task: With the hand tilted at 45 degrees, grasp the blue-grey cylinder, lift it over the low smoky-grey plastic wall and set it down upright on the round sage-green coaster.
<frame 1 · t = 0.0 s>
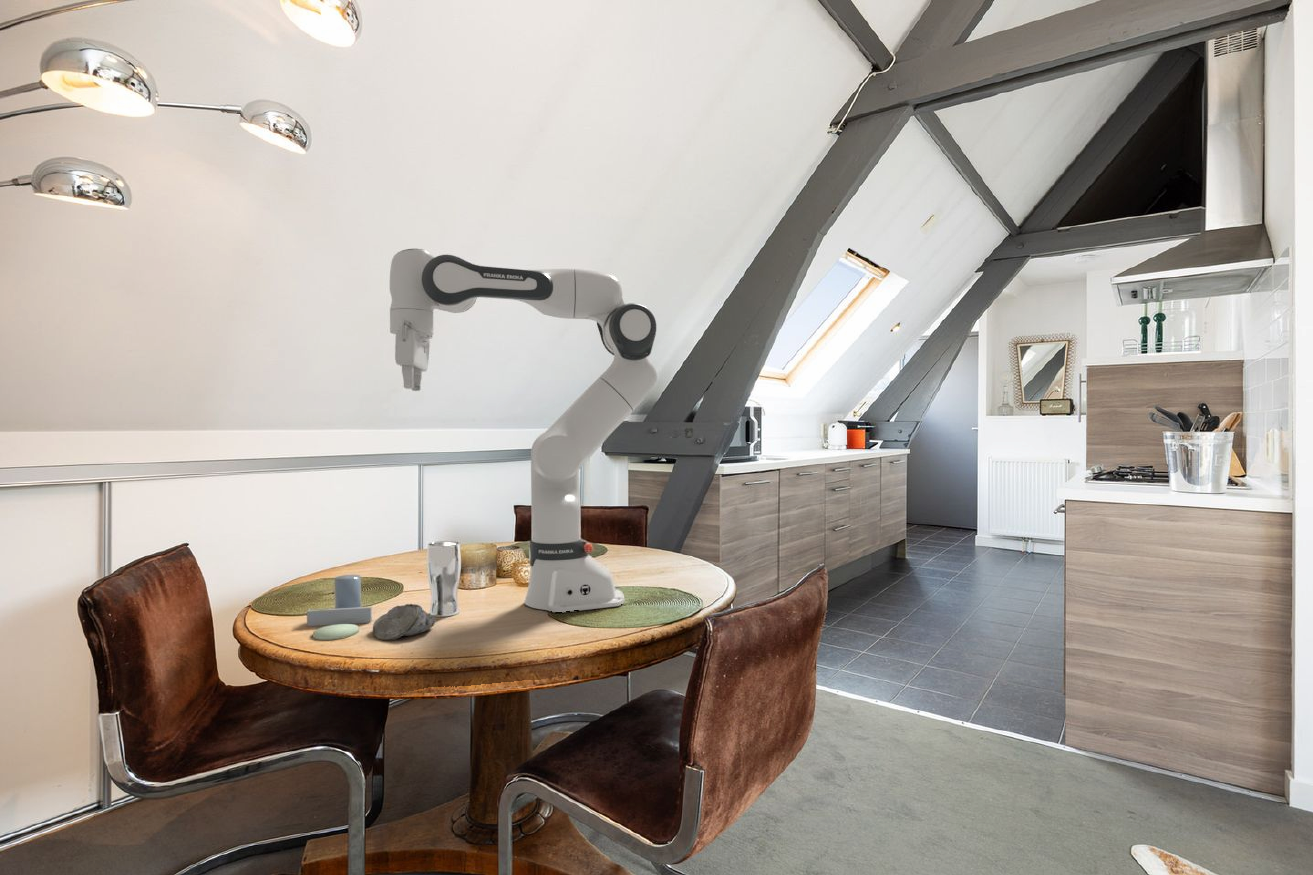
hand: (412, 389, 143), 48 cm above the table, tool pointing down, fingers open, 8 cm apart
beer glass: (444, 613, 142), on the table
coaster: (336, 633, 128), on the table
wall: (339, 623, 134), on the table
fossilized seashell: (404, 634, 129), on the table
blue-grey cylinder: (348, 614, 141), on the table
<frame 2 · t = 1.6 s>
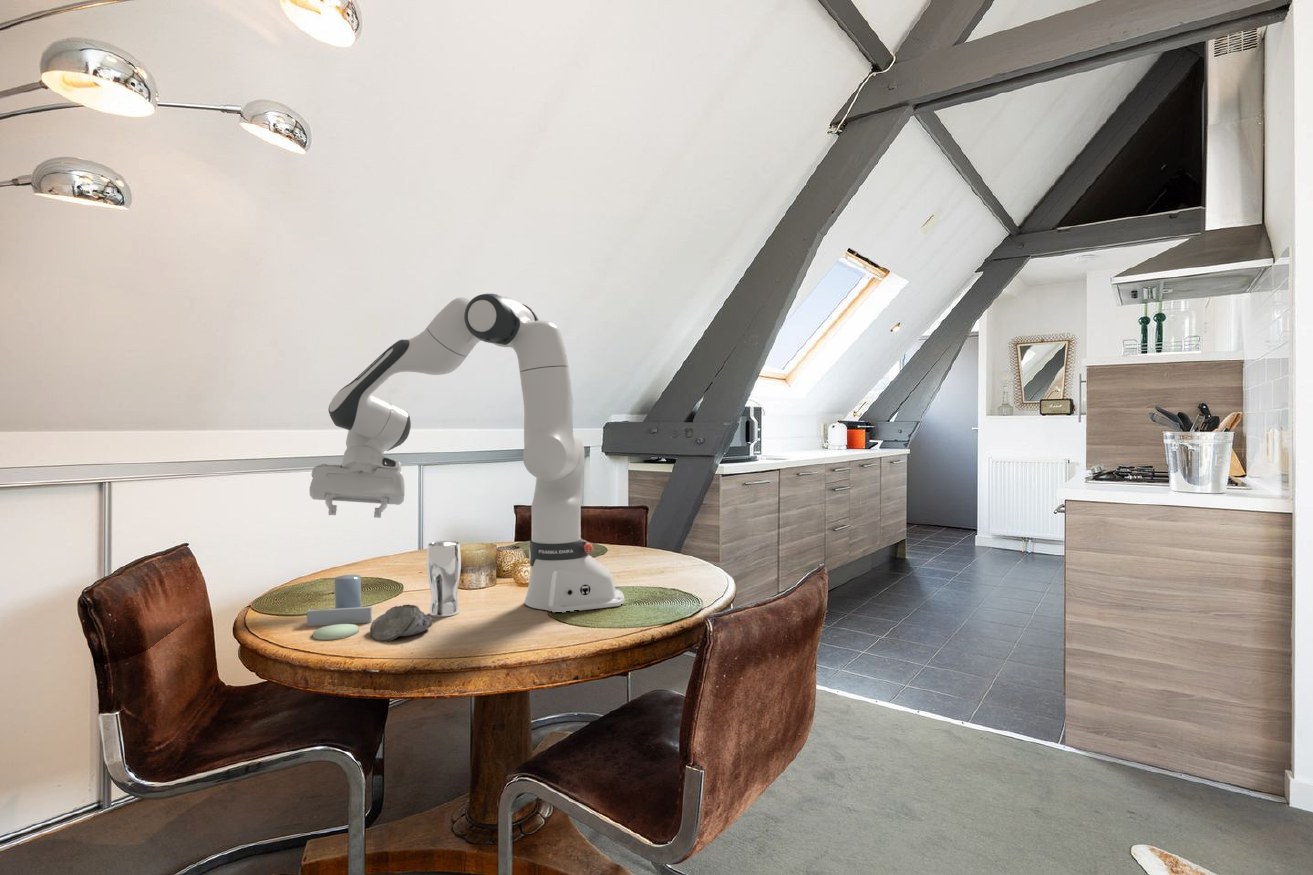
hand: (355, 515, 150), 20 cm above the table, tool tilted 40°, fingers open, 8 cm apart
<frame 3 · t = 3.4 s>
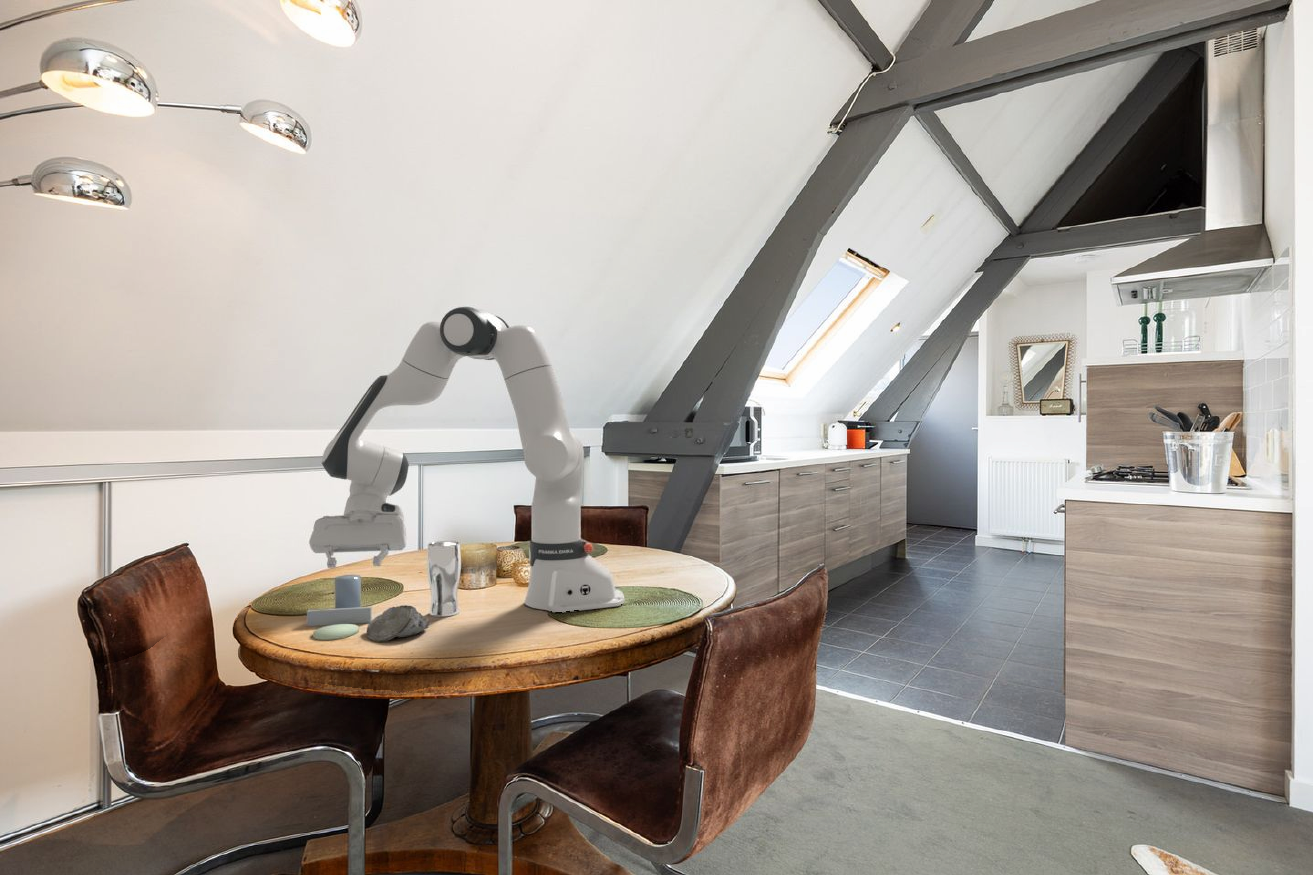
hand: (354, 565, 146), 9 cm above the table, tool tilted 45°, fingers open, 8 cm apart
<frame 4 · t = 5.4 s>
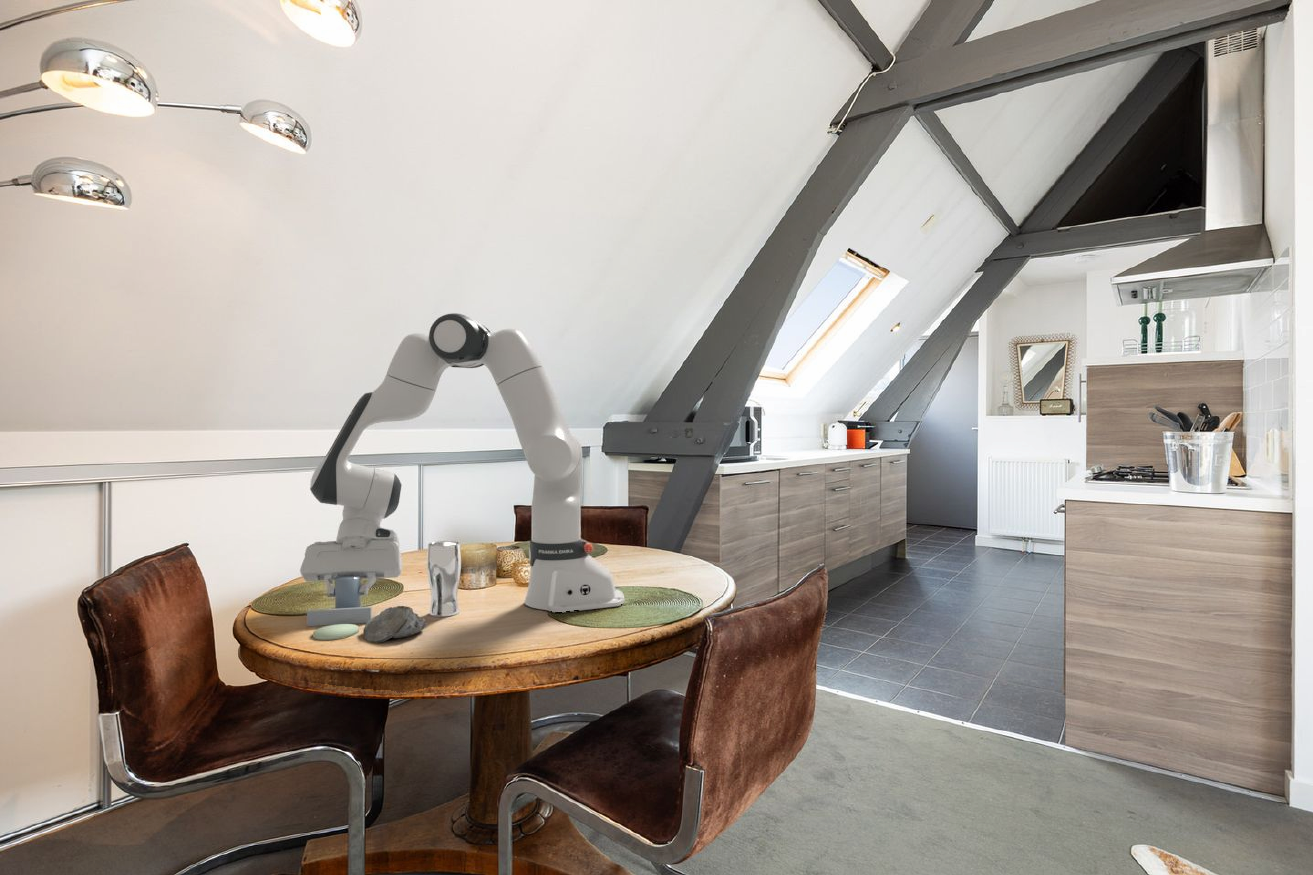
hand: (347, 594, 140), 4 cm above the table, tool tilted 45°, fingers closed on blue-grey cylinder, 5 cm apart
blue-grey cylinder: (348, 614, 141), on the table, touching gripper
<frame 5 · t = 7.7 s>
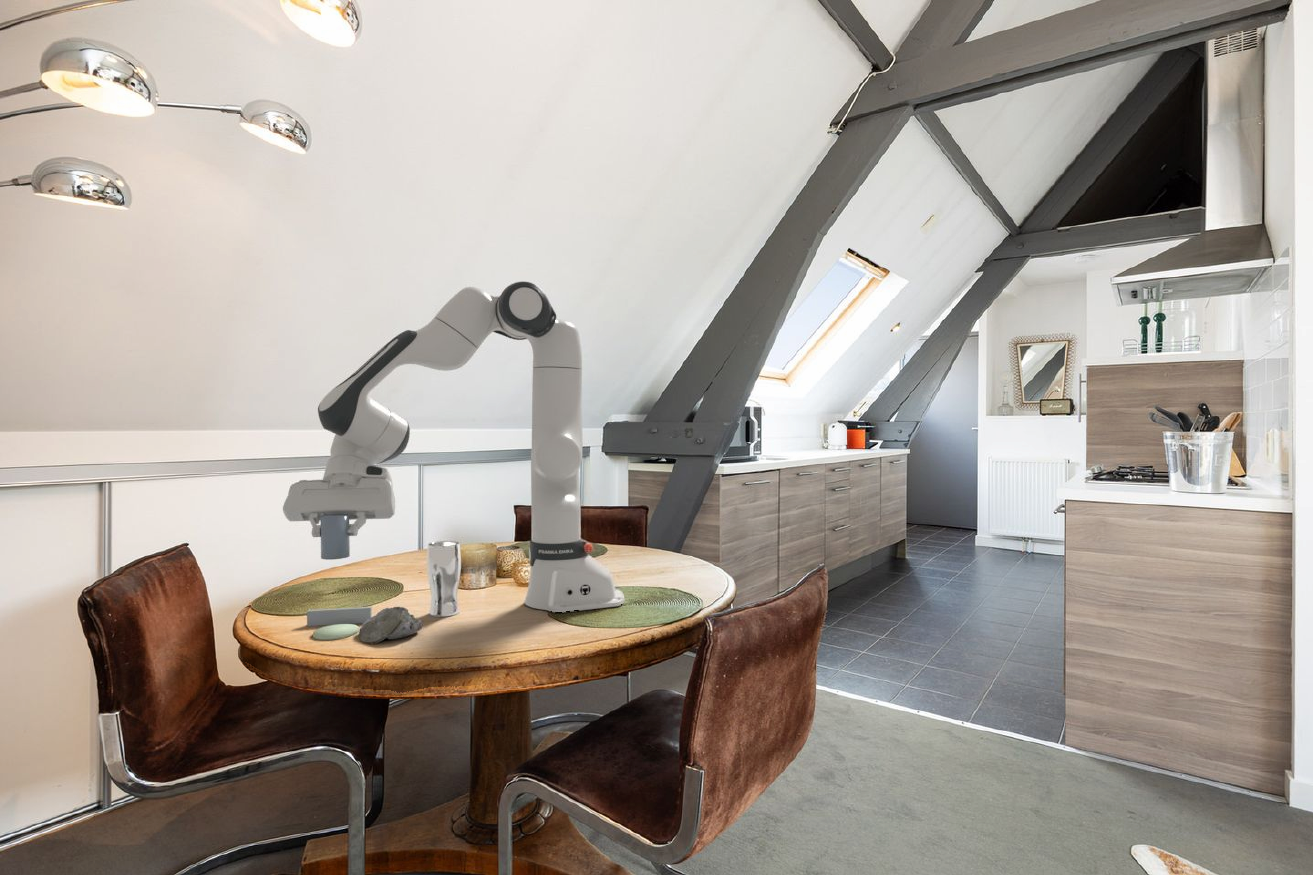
hand: (334, 534, 127), 19 cm above the table, tool tilted 45°, fingers closed on blue-grey cylinder, 5 cm apart
blue-grey cylinder: (335, 556, 128), point 15 cm above the table, touching gripper
when the fingers open (6 cm above the table, at t = 10.5 s): blue-grey cylinder drops 1 cm, resting on coaster.
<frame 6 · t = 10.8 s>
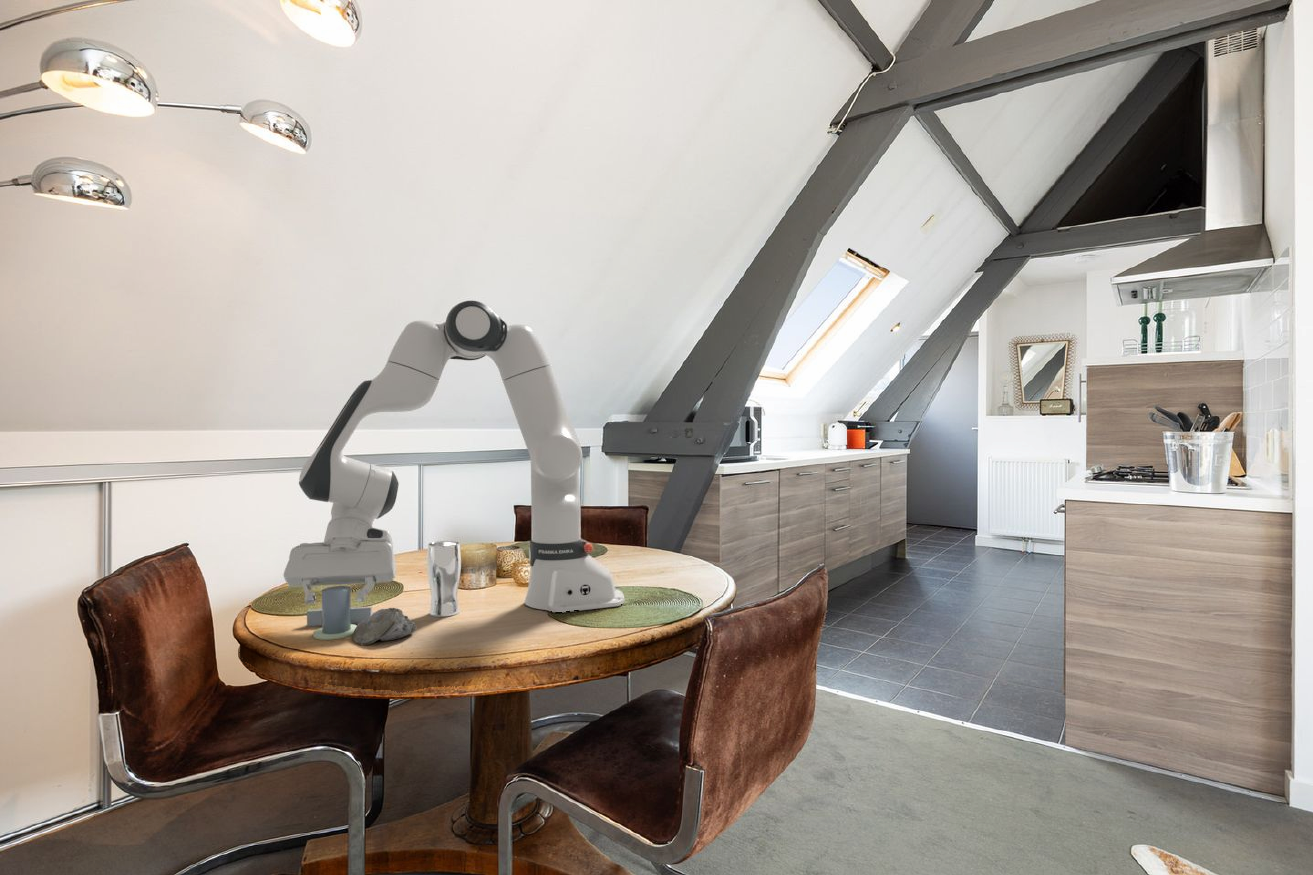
hand: (335, 601, 127), 6 cm above the table, tool tilted 45°, fingers open, 8 cm apart
fossilized seashell: (385, 638, 126), on the table
blue-grey cylinder: (336, 630, 128), point 1 cm above the table, touching coaster
everything else where it was.
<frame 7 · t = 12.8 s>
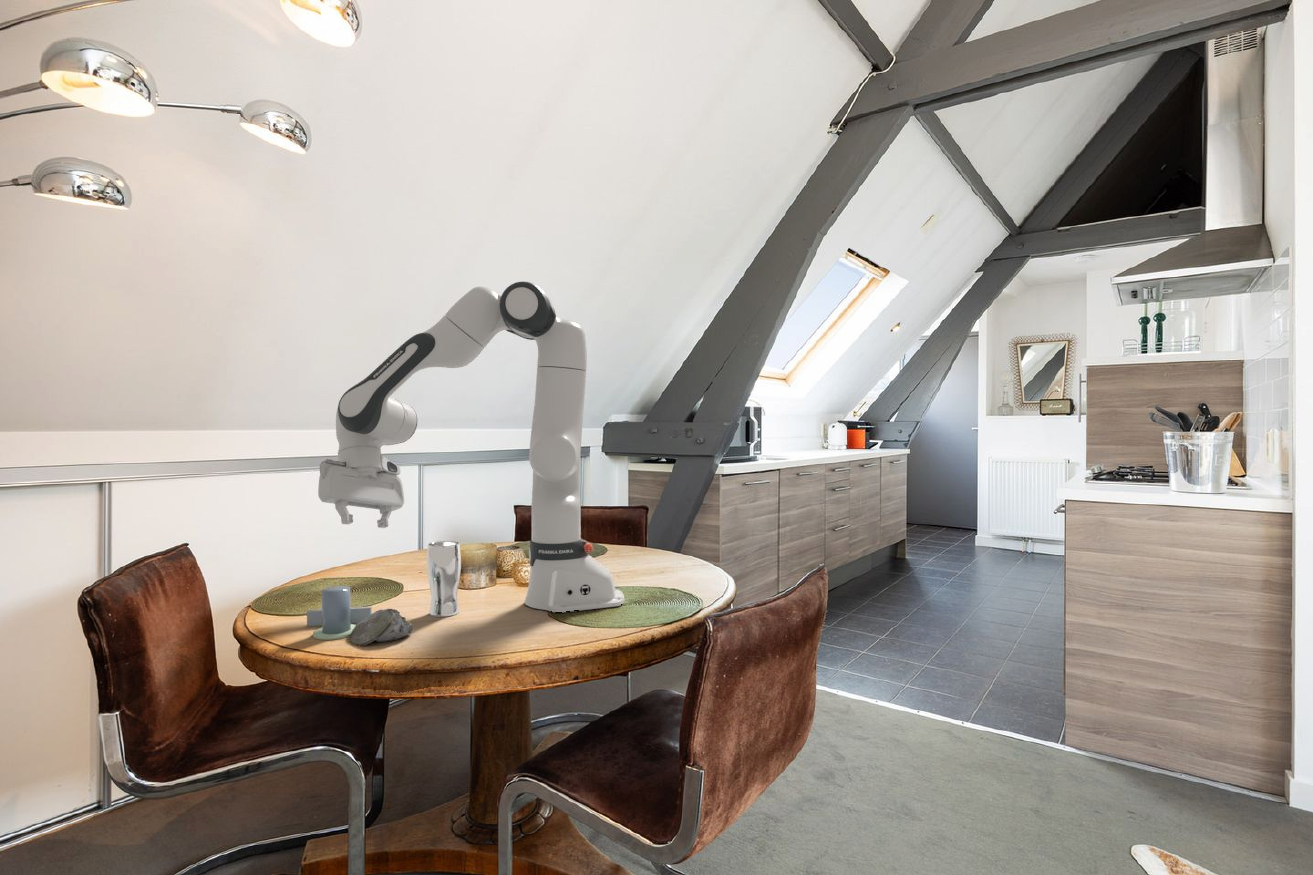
hand: (365, 525, 143), 19 cm above the table, tool tilted 25°, fingers open, 8 cm apart
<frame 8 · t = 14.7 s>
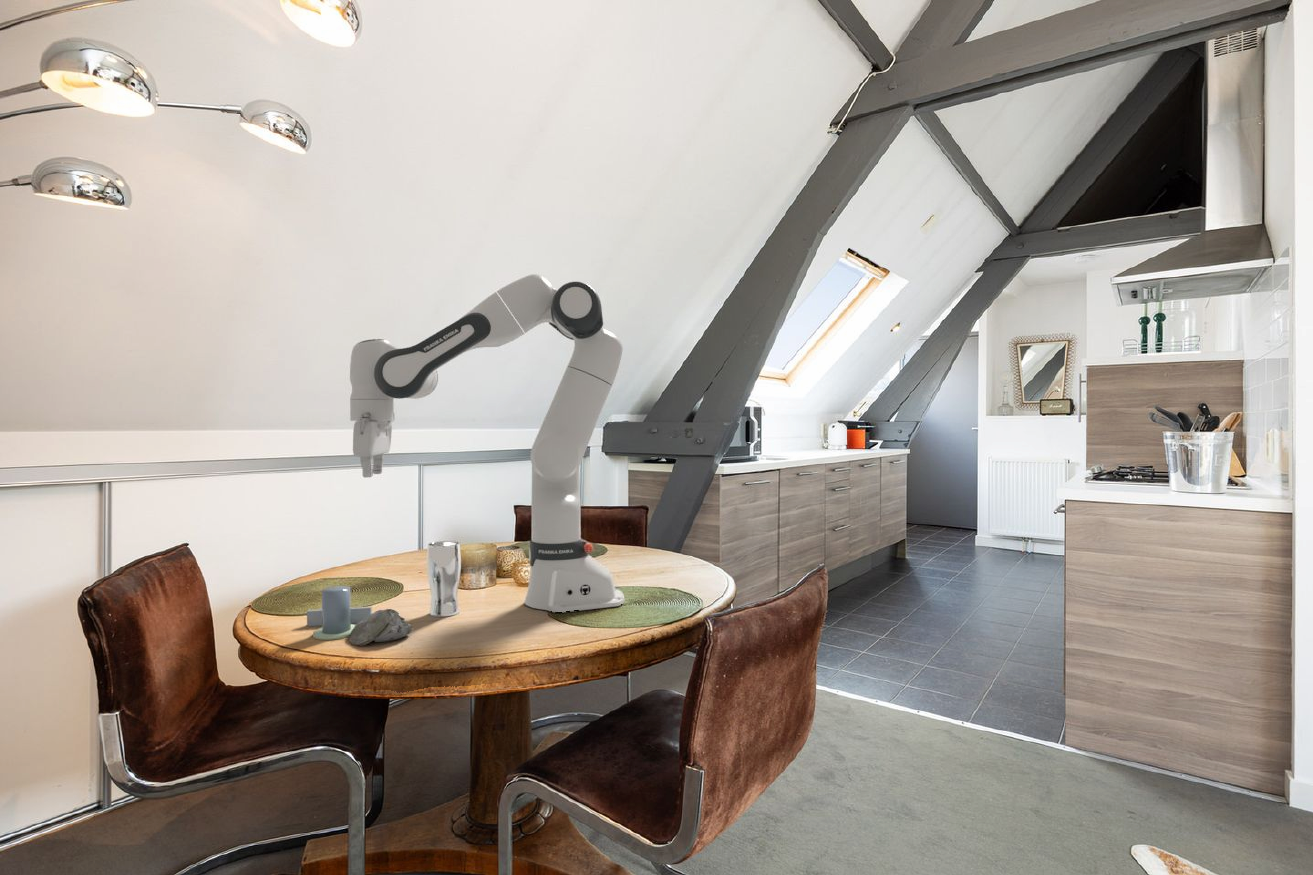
hand: (372, 475, 147), 29 cm above the table, tool pointing down, fingers open, 8 cm apart
at the end: blue-grey cylinder inside the target area on the coaster (0.1 cm from its centre), point 0.6 cm above the coaster's base; blue-grey cylinder tilted 0°; the gripper is holding nothing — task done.
